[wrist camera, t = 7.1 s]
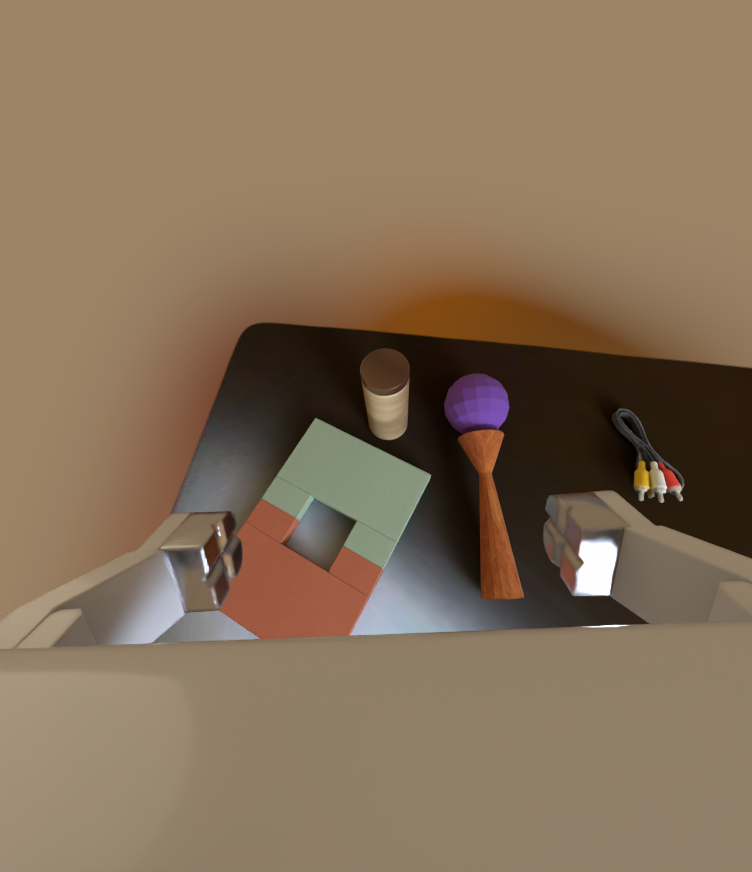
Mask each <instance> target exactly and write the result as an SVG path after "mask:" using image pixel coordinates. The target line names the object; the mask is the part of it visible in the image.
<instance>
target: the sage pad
mask: <svg viewBox="0 0 752 872" xmlns="http://www.w3.org/2000/svg"><path fill="white" fill-rule="evenodd" d="M430 477H431V475H430V474H429V473H427V472H425V471H422V470H420V469H418V468H416V467H414V466H412V465H410V464H408V463H406V462H404V461H402V460H400V459H398V458H396V457H394V456H392V455H390V454H388V453H386V452H384V451H382V450H380V449H378V448H376V447H374V446H372V445H370V444H368V443H366V442H364V441H362V440H360V439H357V438H355V437H353V436H351V435H349V434H347V433H345V432H343V431H341V430H339V429H337V428H335V427H333V426H331V425H329V424H327V423H325V422H323V421H321V420H319V419H317V418H315V419H314V421H313V422H312V424H311V425H310V427H309V428H308V430H307V431H306V433H305V434H304V436H303V437H302V439H301V440H300V442H299V443H298V445H297V446H296V448H295V449H294V451H293V452H292V454H291V455H290V457H289V458H288V460H287V461H286V463H285V464H284V465H283V467H282V468H281V470H280V471H279V473H278V474H277V476H276V477H275V479H274V480H273V482H272V483H271V485H270V486H269V488H268V489H267V491H266V492H265V494H264V495H263V497H262V499H263V500H265V501H267V502H269V503H270V504H272V505H274V506H275V507H277V508H279V509H281V510H282V511H284V512H286V513H288V514H289V515H291V516H293V517H294V518H296V519H297V520H298V521H301V519H302V517H303V516H304V514H305V512H306V511H307V509H308V508H309V506H310V504H311V503H312V501H313V500H314V499H316V500H318V501H319V502H321V503H323V504H325V505H327V506H328V507H330V508H332V509H334V510H336V511H337V512H339V513H341V514H343V515H345V516H346V517H348V518H350V519H352V520H354V521H355V522H356V523H355V525H354V527H353V529H352V531H351V532H350V534H349V536H348V538H347V539H346V541H345V543H344V545H343V546H345V547H346V548H348V549H350V550H351V551H353V552H355V553H357V554H358V555H360V556H362V557H364V558H365V559H367V560H369V561H370V562H372V563H374V564H376V565H377V566H379V567H381V568H382V569H384V568H385V566H386V564H387V562H388V560H389V558H390V556H391V554H392V552H393V550H394V548H395V547H396V544H397V543H398V541H399V539H400V537H401V535H402V533H403V531H404V529H405V527H406V525H407V523H408V521H409V519H410V517H411V515H412V513H413V511H414V509H415V508H416V506H417V504H418V502H419V500H420V498H421V496H422V494H423V492H424V490H425V488H426V486H427V484H428V482H429V480H430Z"/></svg>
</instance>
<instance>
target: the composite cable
mask: <svg viewBox="0 0 752 872" xmlns="http://www.w3.org/2000/svg"><path fill="white" fill-rule="evenodd" d="M621 417H623V418H625V419H626V420H627V421H628V422H629V423H630V424H631V426H632V428H633V430H634V433H635V435H634V434H633V433H632V431H631V430H629V428H628V427H627V426H626V425H625V424H624V422H623V421H622V419H621ZM612 421H613V423H614V425H615V427H616V428H617V429H618V430H619V431H620V432H621V433H622V434H623V435H624V436H625V437H626V438H627V439H628V440H629V441H630V442H631V443H633V445H634V446H635V448H636V450H637V454H638V456H637V457H636V459H637V462H636V465H635V467H636V471H635V472H634V489H635V491H636V492H638V493H639V498H638V499H639V501H643V500H644V493H645V492H646V491H647V494H648V498H652V497H654V494H656V495H658V501H659V502H661V503H663V502H664V499H663V494H664V493H666V492H669V493H670V494H676V497H677V498H678V500H680V501H683V497H682V496H681V494H680V492H681V490H682V488H683V486H684V480H683V478H682V476H681V475H680V473H679V472H678V471H677V470H676V469H675V468H673V467H672V466H671V465H670V464H668V463H667V462H666V461H664V460H663V459H662V458H661V457H660V456H659V455H658V454H657V453H656V452H655V451H654V449H653V448H652V447H651V445H650V444H649V441H648V439H647V437H646V435H645V432H644V430H643V427H642V425H641V423H640V421H639V419H638V418H637V417H636V416H635V414H633V413H632V412H631V411H629V410H627V409H623V408H621V409H618V410H617V411H616V412H615V413H614V414H613V415H612Z"/></svg>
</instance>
